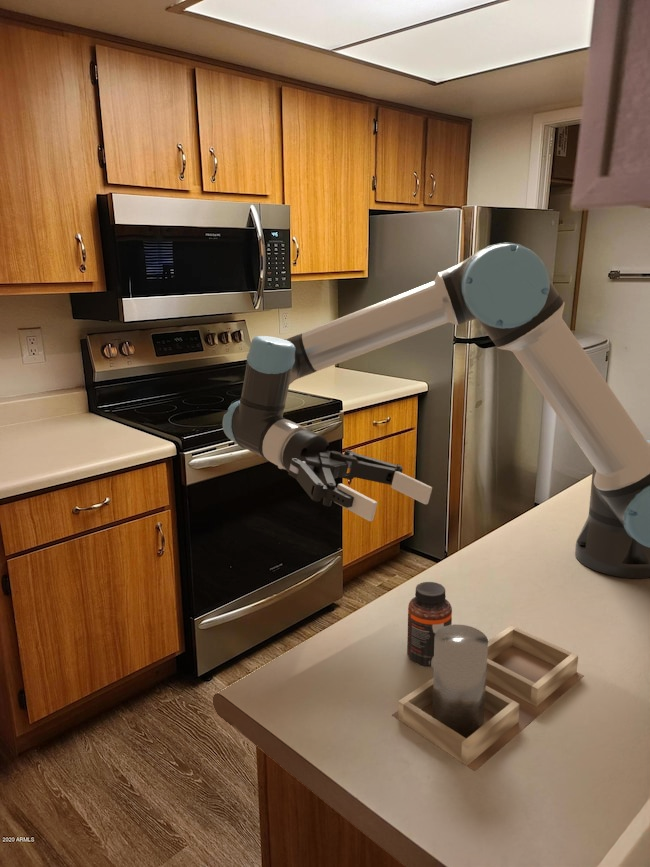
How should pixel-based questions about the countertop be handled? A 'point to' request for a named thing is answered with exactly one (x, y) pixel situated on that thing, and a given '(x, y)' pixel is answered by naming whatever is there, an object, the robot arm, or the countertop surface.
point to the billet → (460, 678)
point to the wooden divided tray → (499, 696)
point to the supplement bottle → (426, 621)
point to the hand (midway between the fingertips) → (403, 503)
